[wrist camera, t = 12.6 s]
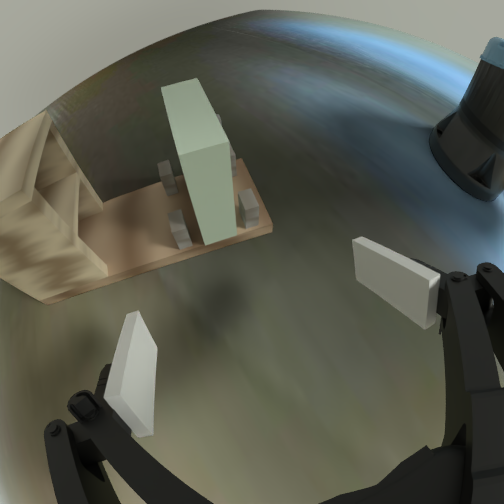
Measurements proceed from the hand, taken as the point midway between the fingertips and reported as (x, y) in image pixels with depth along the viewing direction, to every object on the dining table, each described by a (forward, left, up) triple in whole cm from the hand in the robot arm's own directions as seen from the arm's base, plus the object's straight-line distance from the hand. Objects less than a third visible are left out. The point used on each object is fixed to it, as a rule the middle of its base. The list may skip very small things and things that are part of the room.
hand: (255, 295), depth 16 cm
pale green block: (0, -12, -7) cm, 14 cm away
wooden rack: (+8, -12, -8) cm, 17 cm away
